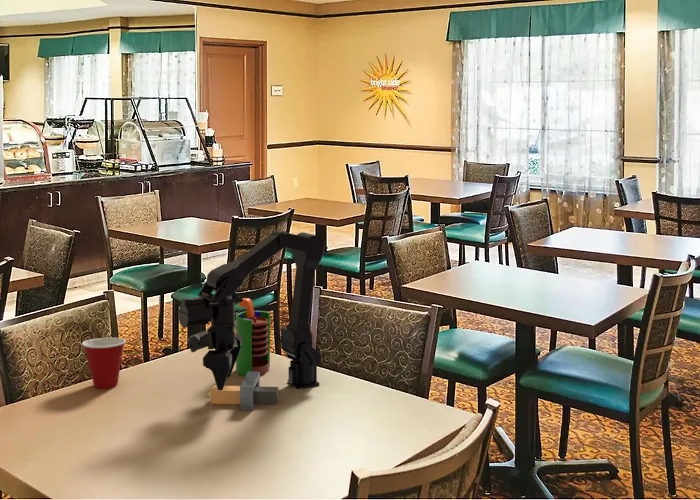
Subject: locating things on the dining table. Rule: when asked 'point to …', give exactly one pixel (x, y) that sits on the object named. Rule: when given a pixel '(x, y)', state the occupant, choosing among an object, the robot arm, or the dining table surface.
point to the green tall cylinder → (253, 339)
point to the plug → (233, 395)
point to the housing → (249, 390)
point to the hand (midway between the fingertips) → (224, 383)
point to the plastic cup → (104, 360)
